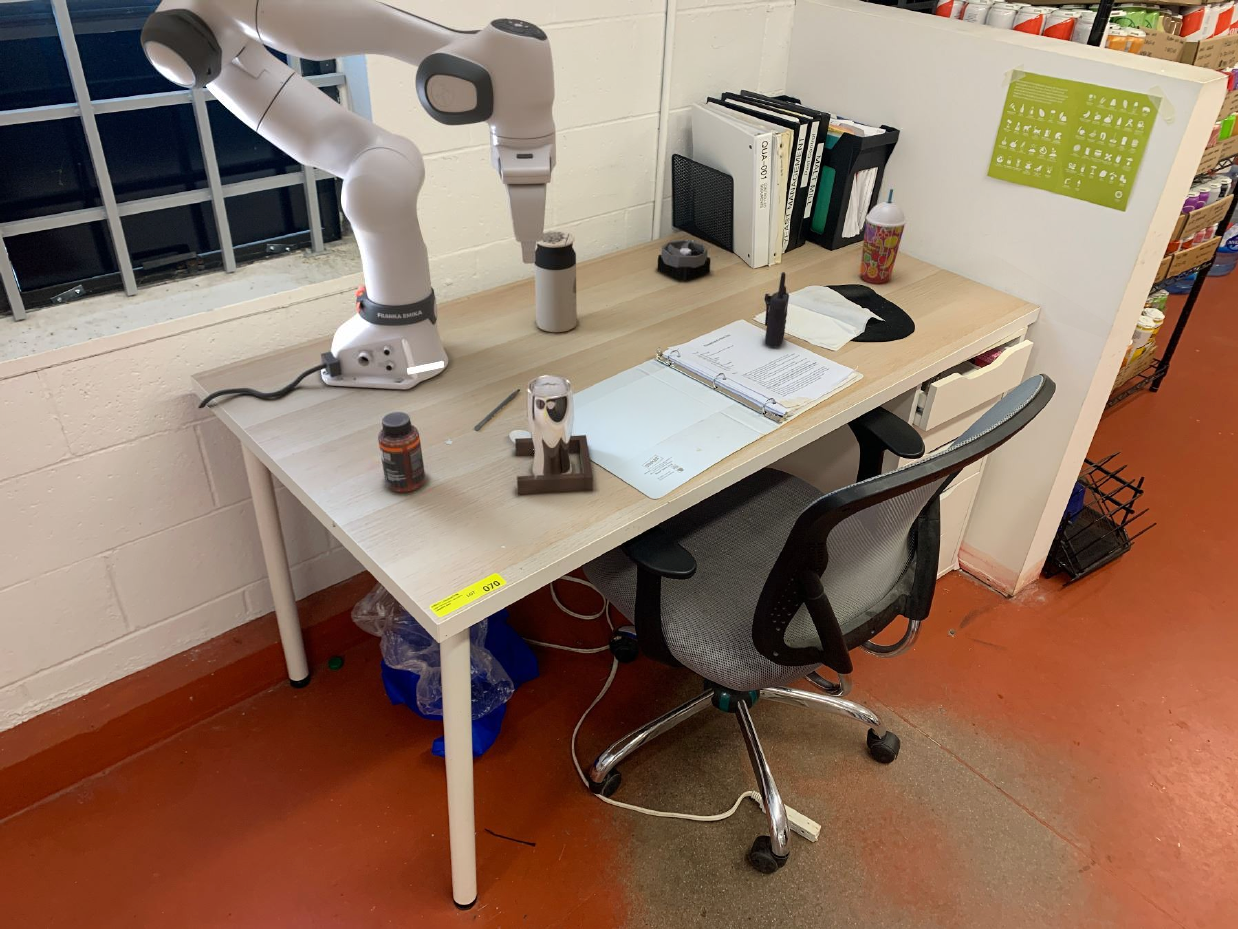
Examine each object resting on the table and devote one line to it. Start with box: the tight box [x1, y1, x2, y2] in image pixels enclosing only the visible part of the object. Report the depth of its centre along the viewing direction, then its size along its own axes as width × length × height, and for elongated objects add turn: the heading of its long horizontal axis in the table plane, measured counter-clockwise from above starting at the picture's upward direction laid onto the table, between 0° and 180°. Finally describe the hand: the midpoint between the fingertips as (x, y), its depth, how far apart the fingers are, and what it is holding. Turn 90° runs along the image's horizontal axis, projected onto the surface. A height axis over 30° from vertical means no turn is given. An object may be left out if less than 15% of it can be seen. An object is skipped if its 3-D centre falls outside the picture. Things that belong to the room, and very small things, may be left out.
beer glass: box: [526, 374, 575, 476], centre depth 136 cm, size 7×7×15 cm
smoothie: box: [859, 188, 907, 284], centre depth 197 cm, size 8×8×20 cm
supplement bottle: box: [377, 411, 426, 493], centre depth 134 cm, size 6×6×11 cm
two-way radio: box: [764, 271, 790, 348], centre depth 172 cm, size 6×4×15 cm
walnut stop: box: [514, 434, 594, 495], centre depth 140 cm, size 11×11×2 cm
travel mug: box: [533, 230, 578, 333], centre depth 176 cm, size 8×8×18 cm
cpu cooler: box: [656, 238, 711, 282], centre depth 202 cm, size 10×6×10 cm
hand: (527, 248), depth 132 cm, fingers open, 8 cm apart
